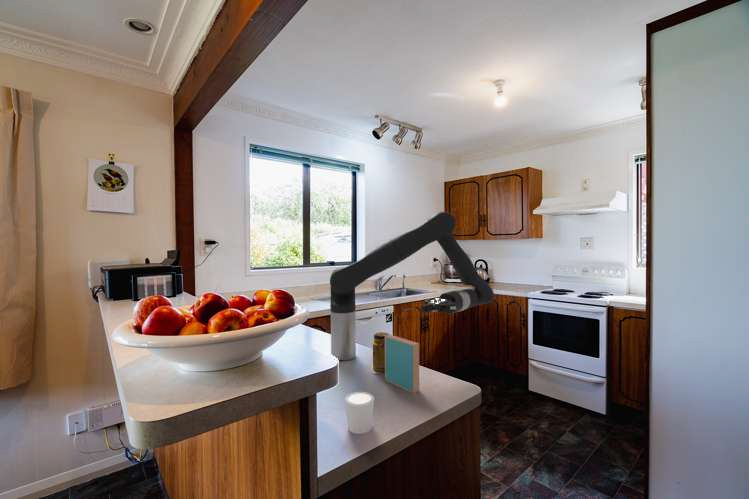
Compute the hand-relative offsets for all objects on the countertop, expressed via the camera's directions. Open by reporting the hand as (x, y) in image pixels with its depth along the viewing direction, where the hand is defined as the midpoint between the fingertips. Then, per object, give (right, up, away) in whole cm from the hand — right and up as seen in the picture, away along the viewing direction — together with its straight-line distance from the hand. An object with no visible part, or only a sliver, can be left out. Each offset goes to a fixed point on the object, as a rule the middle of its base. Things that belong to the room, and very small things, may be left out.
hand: (423, 309), depth 108 cm
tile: (-7, -22, -6) cm, 24 cm away
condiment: (-12, -22, +7) cm, 26 cm away
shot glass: (-19, -23, -28) cm, 41 cm away
